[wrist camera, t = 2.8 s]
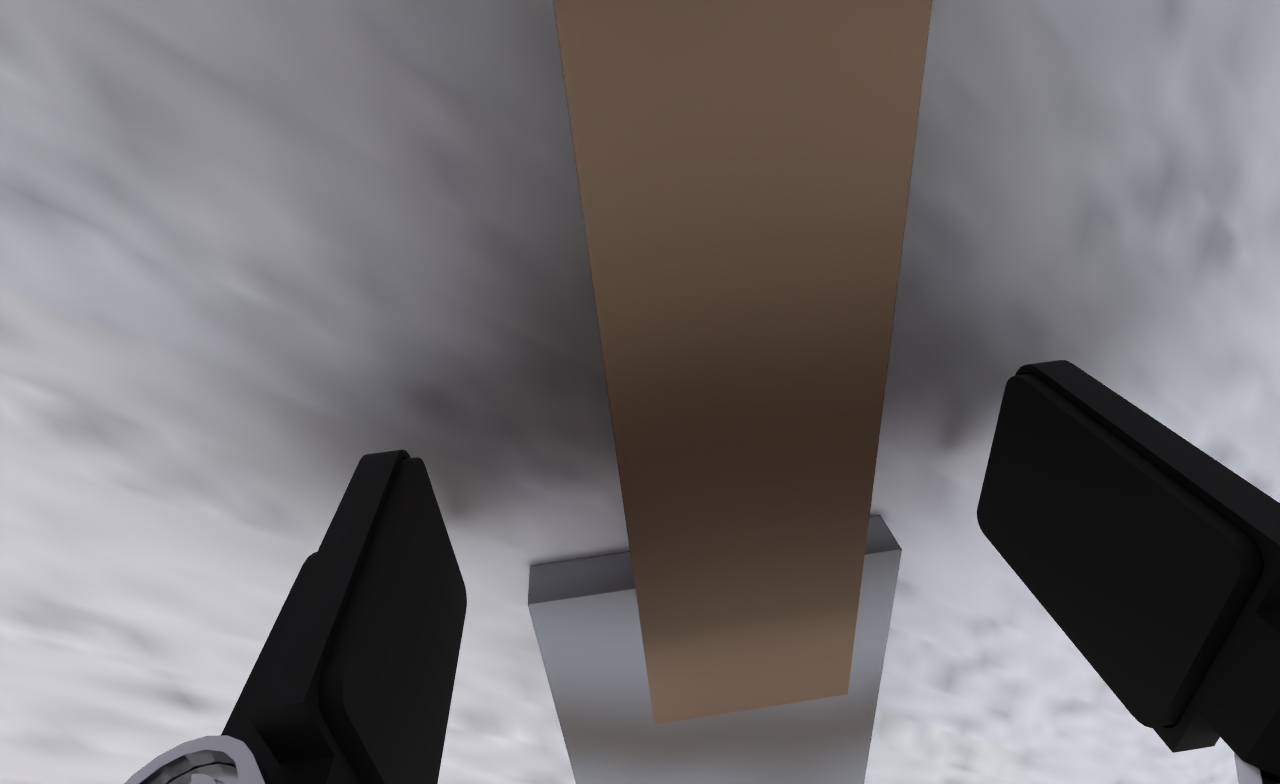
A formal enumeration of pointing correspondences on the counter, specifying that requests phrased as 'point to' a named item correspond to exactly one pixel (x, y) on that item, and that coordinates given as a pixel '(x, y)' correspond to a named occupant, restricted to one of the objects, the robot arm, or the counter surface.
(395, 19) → the counter surface
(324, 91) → the counter surface
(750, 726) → the turner
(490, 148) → the counter surface
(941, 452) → the counter surface
